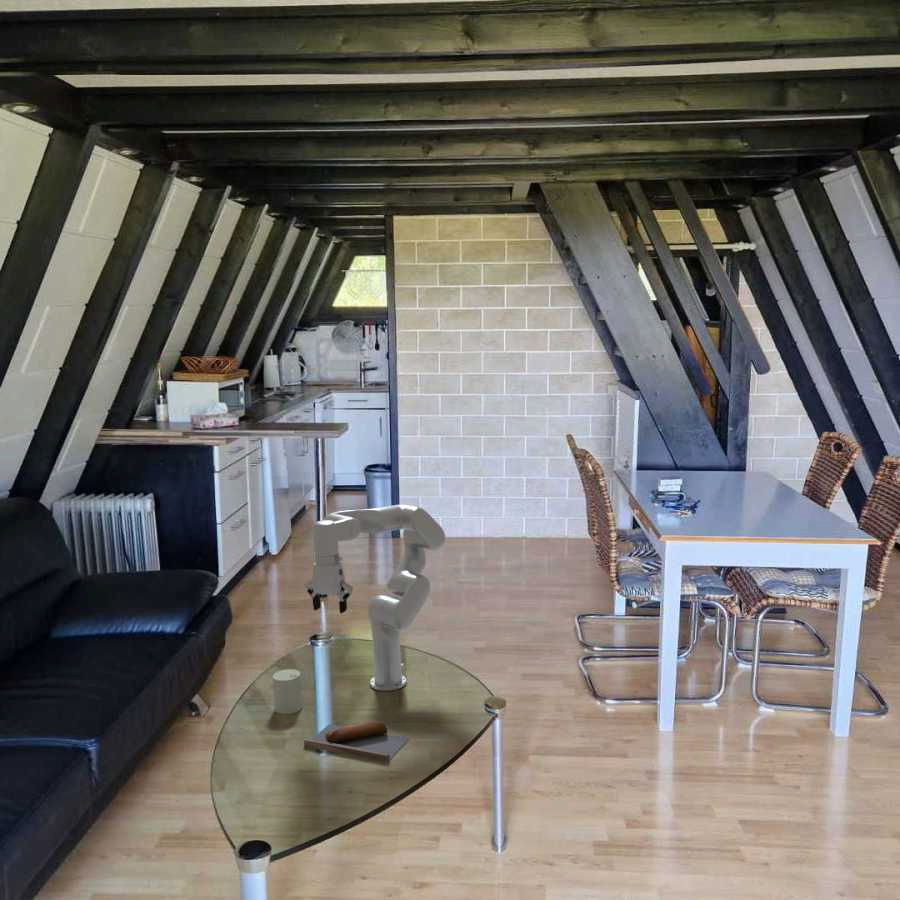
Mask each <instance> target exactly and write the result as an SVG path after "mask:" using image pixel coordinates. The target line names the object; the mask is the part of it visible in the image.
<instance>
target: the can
mask: <svg viewBox="0 0 900 900" xmlns="http://www.w3.org/2000/svg"><path fill="white" fill-rule="evenodd" d="M301 675H302V673H301V671H300V670H298V669H293V668H288V669H287V668H286V669H282V670H278V671H276V672H274V673H273V675H272V683H273V696H274V698H273V699H274V712H275V713H277V714H280V715H291V714H296V713H298V712H299V711H301V710H302V709H303V707H304V704H303V696H302V693H303V692H302V680H301V679H302V677H301Z"/></svg>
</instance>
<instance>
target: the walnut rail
mask: <svg viewBox="0 0 900 900" xmlns="http://www.w3.org/2000/svg"><path fill="white" fill-rule="evenodd" d="M303 746H304V747H306V748H311V749H316V750H321V751H328V752H330V753H331V752H332V753H336V754H342V755H347V756H352V757H357V758H358V757H359V758H364V759H369V760H373V761H377V762H378V761H379V762H384V763H389V762H390V761H391V759H390V756H389V754H388V753H382V752H377V751H372V750H366V749H361V748H356V747H350V746H345V745H340V744H334V743H329V742H324V741H318V740H313V738H307V737H306V738H304V739H303Z"/></svg>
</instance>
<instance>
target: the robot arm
mask: <svg viewBox="0 0 900 900" xmlns="http://www.w3.org/2000/svg"><path fill="white" fill-rule="evenodd" d="M396 530H397V531H398V530H403V532H402V538H403V543H404V554H403V557H402V558H401V560H400V562H399V563H398V565H397V567H396V568H395V569H394V571H393V573H392V574H391V576H390V578H389V579H388V582H387V586H386V588H387V591H388V593H389V594H391V595H392V596H391V595H390V596H389V595H385V594H378V595H375V596H374V597H373V598H371V599H370V601H369V602H368V605H367V613H368V614H367V615H368V616H367V617H368V620H369V623H370V629H371V640H372V643H371V644H372V659H373V660H372V662H373V675H374V676H373V677H372V678H371V679H370V680H369V685H371V686H370V688H372V689H374V690H377V691H383V692H389V691H390V692H391V691H395V690H400V688H403V687H404V686H405V685H406V683H407V678H406V676H405V675H403V674H402V671H403V670H404V669H405V668H406V665H405V663H402V657H401V655H402V654H401V653H402V652H401V637H400V636H401V635H400V630H404V629H407V628H409V627H410V626H411V625H412V624H413V623H414V621H415V619H416V618H417V617H418V615H419V613H420V611H421V610H422V608H423V606H424V604H425V603H426V602H427V600H428V598H429V595H430V591H431V584H430V581H429V579H428V578H427V576H425V575H424V574H422V573H423V571H424V570H425V568H426V563H427V562H426V561H427V558H426V556H427V555H426V552H425V549H427V550H432V551H435V550H439V549H440V548H442V547H443V545H444V544H445V541H446V533H445V531H444V528H443V527H442V526H441V525H440V524H439V523H438V522H437V521H436V520H435V518H434V517H432V516H431V515H430V513H428V512H427V511H426V510H425V509H424V508H422V507H420V506H415V505H409V504H403V503H402V504H395V505H394V504H393V505H388V506H384V507H378V508H377V507H376V508H366V509H365V508H364V509H352V510H342V511H336V512H331V513H329V514H327V515H326V516H324V518H323V519H322V520H318V521H316V522H314V523H313V526H312V532H313V533H312V534H313V535H312V536H313V547H314V561H315V562H314V563H313V567H312V579H311V580H310V581H307V582H306V583H304V587H305V588H306V590H307V593H308V594H309V596H310V598H311V599H312V606H313V611H318V610H319V609H321V607H322V605H321V596H320V594H321V595H327V596H328V595H329V596H337V598H338V600H339V602H338V604H339V605H338V606H339V613H340V614H344V613H346V612H347V609H348V602H347V601H348V599H349V597H350V596H351V595H352V592H353V589H354V587H353V586H351V585H350V584H348V583H347V582H346V577H345V571H344V568H343V565H342V560H343V557H342V556H340V553H339V542H346V541H347V542H348V541H353V540H354V539H355V540H356V539H357V538H358V537H359V536H360V535H361V534H362V533H363V534H372V535H373V534H375V535H377V534H382V533H383V534H384V533H389V532H394V531H396ZM345 591H346V592H345ZM393 596H394V597H393Z"/></svg>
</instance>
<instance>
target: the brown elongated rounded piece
mask: <svg viewBox="0 0 900 900" xmlns="http://www.w3.org/2000/svg"><path fill="white" fill-rule="evenodd" d="M379 734H387V735H388V728H387V725H386V724H385V723H384V722H380V721H370V720H369V721H363V722H356V723H352V724H351V723H350V724H347V725H343V726H342V727H341V728H339V729H336V730H333V731H330V732H329V733H327V734H326V735H325V737H326V740H327V742H329V743H334V744H339V743H343V742H345V741H349V740H354V739H359V738H364V737H369V736H374V735H379Z"/></svg>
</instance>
